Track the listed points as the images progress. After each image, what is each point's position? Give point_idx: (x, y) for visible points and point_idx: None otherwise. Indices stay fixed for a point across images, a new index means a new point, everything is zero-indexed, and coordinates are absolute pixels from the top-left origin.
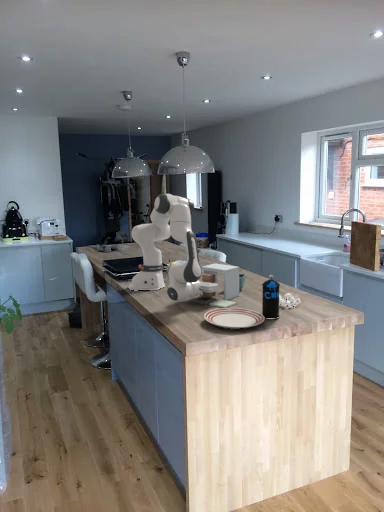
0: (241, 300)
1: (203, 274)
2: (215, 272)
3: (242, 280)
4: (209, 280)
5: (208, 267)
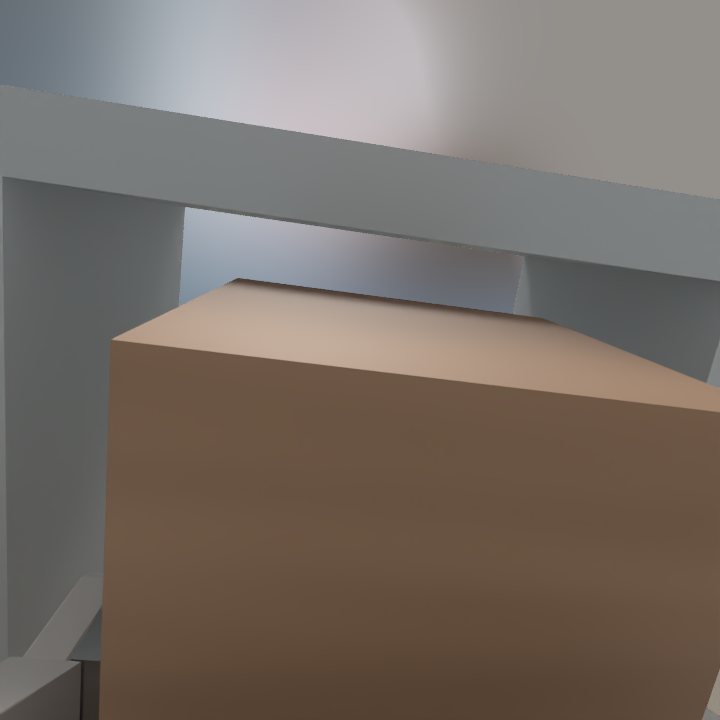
0: (714, 708)
1: (193, 335)
2: (167, 297)
3: None
4: (703, 712)
5: (187, 118)
